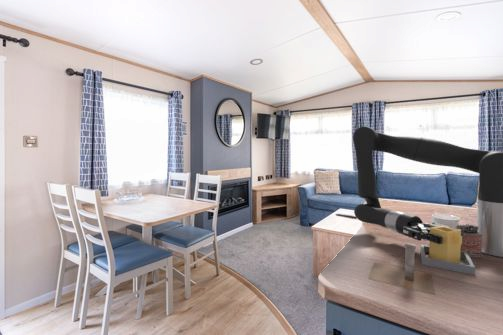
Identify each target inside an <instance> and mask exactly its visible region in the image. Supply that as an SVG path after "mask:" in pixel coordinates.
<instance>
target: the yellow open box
mask: <svg viewBox="0 0 503 335" xmlns="http://www.w3.org/2000/svg"><path fill="white" fill-rule="evenodd" d="M430 233H432V234H435V235H438V236H441V237H442V238H443V243H442V244H437V243H434V242H431V241H429V246H430V247H429V253H428V256H429V257H428V258H431V259H437V260H443V261H448V262H454V263H460V247H461V245H462V236H461V229H459V230H456V229H453V228H449V227H446V226H437V227H430Z"/></svg>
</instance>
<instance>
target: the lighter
mask: <svg viewBox="0 0 503 335" xmlns="http://www.w3.org/2000/svg"><path fill="white" fill-rule="evenodd" d="M478 228H479V226H477V224H475V225H474V224H473V225H472V224H470V223H466V224H459V225H457V229H459V230H460V231H461V233H463V235H464V236H463V240H462V245H461V247H460V251H465V252H467V254H468V255H469V257H470V258H477V257H478V258H479V257H480V258H481V257H482V256H483V252H481V246H482V236H483V233H482V232H478Z"/></svg>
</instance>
